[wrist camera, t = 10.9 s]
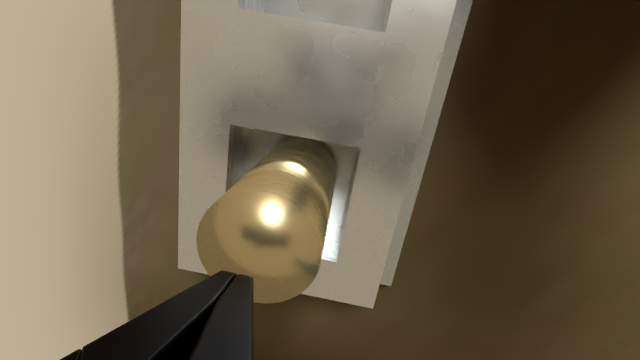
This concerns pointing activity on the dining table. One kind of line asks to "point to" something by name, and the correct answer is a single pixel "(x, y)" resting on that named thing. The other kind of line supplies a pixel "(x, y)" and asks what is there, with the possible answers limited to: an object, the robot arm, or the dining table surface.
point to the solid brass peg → (273, 221)
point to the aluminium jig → (317, 115)
